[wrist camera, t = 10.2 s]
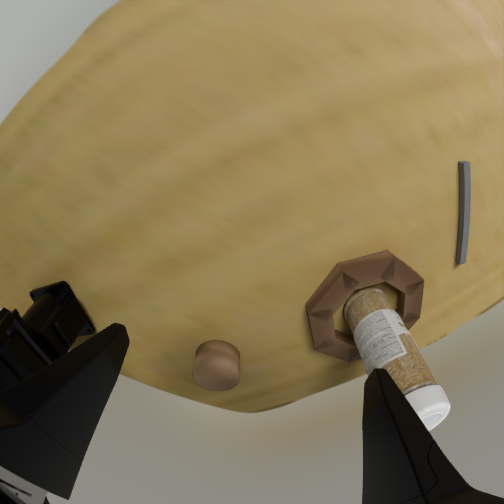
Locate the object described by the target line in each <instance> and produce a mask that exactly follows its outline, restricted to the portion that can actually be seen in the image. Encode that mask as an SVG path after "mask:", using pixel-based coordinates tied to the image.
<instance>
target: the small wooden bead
mask: <svg viewBox="0 0 504 504" xmlns="http://www.w3.org/2000/svg"><path fill="white" fill-rule="evenodd" d="M239 374H240V354H239V351H238V350H237V348H236V347H234V346H233V345H232V344H230V343H227V342H224V341H218V340H213V341H208V342H205V343H203V344H201V345H200V346H199V347H198V349H197V351H196V357H195V362H194V368H193V374H192V376H193V379H194V381H195V382H196V383H197V384H198V385H200V386H201V387H203V388H206V389H209V390H213V391H224V390H229V389H231V388H233V387H235V386H236V385H237V384H238V382H239Z"/></svg>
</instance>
